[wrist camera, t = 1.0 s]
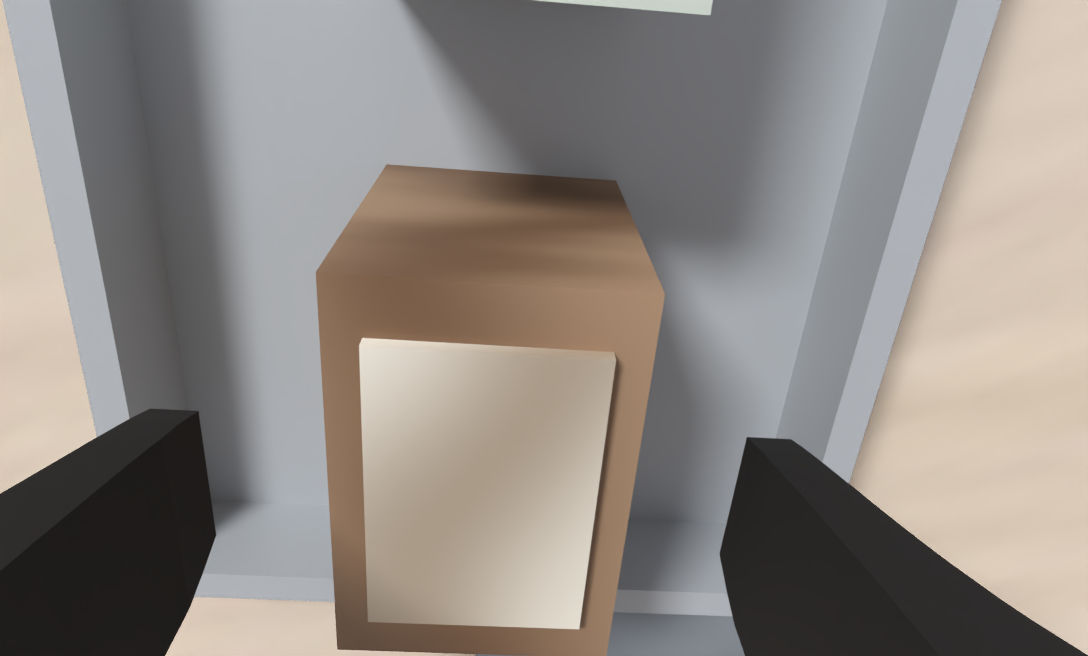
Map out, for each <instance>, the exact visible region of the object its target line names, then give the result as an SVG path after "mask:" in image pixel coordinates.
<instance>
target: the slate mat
mask: <svg viewBox="0 0 1088 656" xmlns="http://www.w3.org/2000/svg"><path fill="white" fill-rule="evenodd" d="M476 656H524V655H493V654H476ZM606 656H745V654H744V651H743V648H742V646H741V643H740V640H739V637H738V634H737V631H736V628H735V625H734V621H733V617H732V616H708V615H680V614H653V613H625V612H613V618H612V624H611V630H610V636H609V643H608V649H607V655H606Z"/></svg>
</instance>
